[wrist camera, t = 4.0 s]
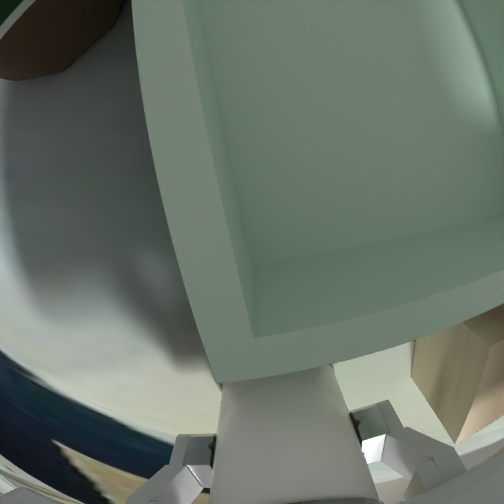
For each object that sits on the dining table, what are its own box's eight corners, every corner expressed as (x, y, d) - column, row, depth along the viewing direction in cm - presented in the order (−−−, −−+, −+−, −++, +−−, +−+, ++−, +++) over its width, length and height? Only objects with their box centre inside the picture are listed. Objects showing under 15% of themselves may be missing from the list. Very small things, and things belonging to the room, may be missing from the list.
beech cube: (493, 262, 10) (563, 299, 6) (480, 345, 12) (531, 394, 7) (417, 286, 11) (490, 346, 6) (410, 375, 12) (454, 444, 7)
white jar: (333, 330, 11) (410, 500, 4) (338, 414, 12) (378, 547, 5) (206, 352, 11) (167, 531, 4) (235, 431, 13) (228, 568, 5)
